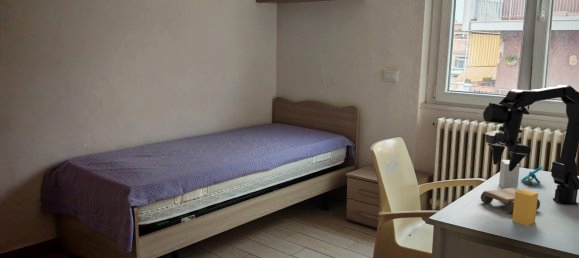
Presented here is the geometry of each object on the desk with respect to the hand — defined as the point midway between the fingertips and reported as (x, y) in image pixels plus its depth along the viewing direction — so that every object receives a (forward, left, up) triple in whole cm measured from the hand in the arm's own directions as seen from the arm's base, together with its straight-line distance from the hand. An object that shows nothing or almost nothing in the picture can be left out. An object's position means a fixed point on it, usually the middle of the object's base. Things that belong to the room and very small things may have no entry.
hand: (502, 167), depth 179 cm
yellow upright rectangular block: (0, +17, -14) cm, 22 cm away
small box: (-15, -23, -14) cm, 31 cm away
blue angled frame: (-28, -29, -14) cm, 43 cm away
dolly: (-3, +2, -14) cm, 14 cm away
